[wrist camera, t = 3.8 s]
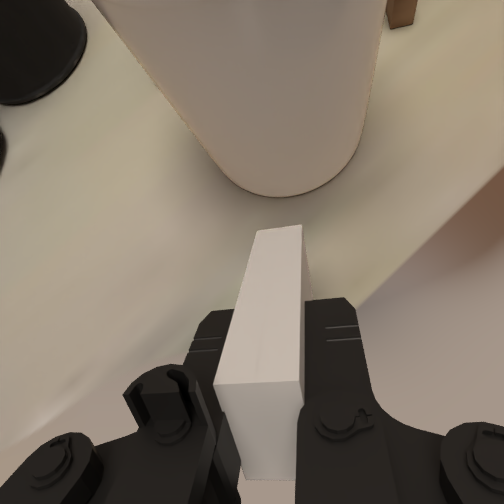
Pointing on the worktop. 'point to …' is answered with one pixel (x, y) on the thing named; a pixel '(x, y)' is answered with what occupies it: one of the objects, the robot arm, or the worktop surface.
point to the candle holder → (261, 80)
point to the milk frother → (37, 47)
